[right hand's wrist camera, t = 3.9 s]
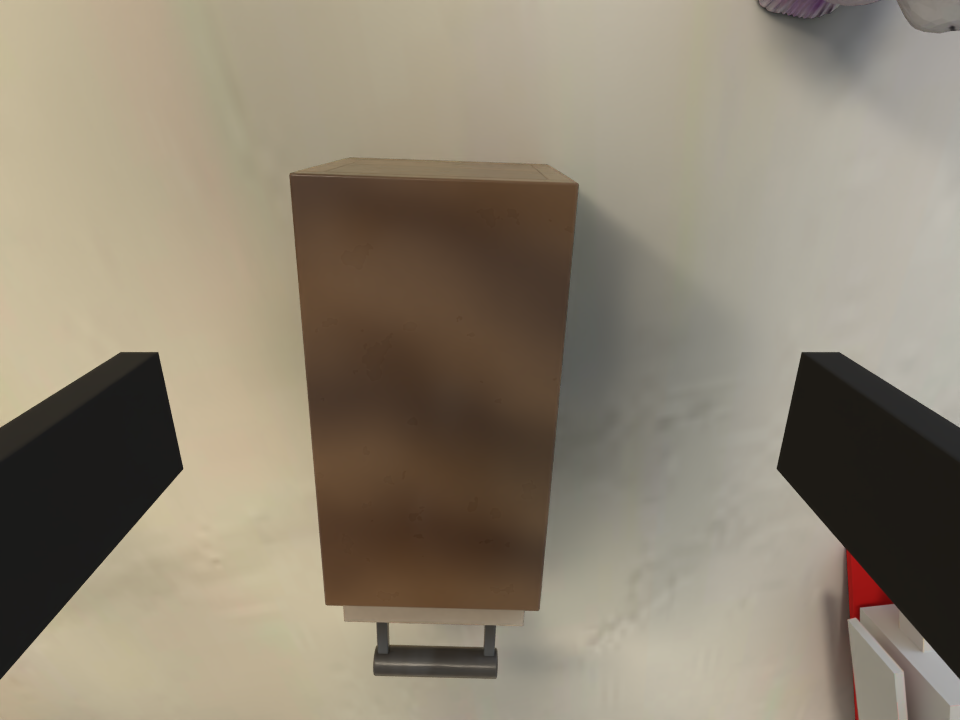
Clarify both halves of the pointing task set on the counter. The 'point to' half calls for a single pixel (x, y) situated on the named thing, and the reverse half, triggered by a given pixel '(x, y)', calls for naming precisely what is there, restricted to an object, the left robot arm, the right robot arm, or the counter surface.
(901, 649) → the toy
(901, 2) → the figurine
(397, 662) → the drawer
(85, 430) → the right robot arm
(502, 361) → the cabinet
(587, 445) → the counter surface
